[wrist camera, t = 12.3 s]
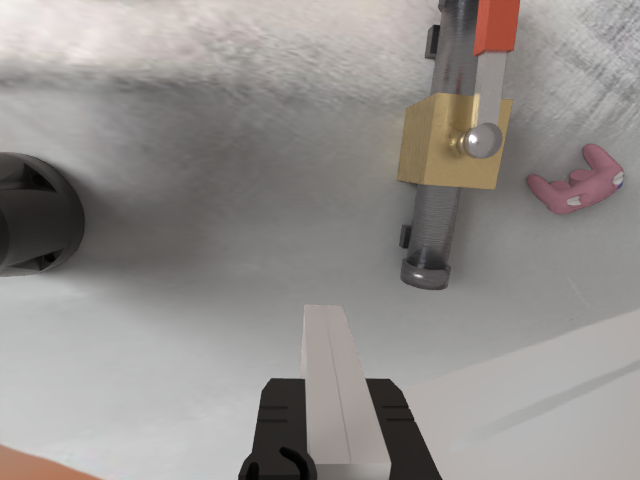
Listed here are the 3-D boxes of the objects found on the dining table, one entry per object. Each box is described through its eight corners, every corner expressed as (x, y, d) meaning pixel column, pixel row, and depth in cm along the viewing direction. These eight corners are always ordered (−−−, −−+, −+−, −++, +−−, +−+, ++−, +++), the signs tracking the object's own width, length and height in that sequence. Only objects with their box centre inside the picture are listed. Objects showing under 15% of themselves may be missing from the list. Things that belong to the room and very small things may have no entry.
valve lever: (490, 158, 31) (502, 158, 29) (459, 158, 30) (469, 158, 29) (514, -33, 27) (529, -47, 25) (479, -34, 27) (492, -48, 25)
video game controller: (522, 199, 45) (564, 226, 40) (523, 174, 42) (568, 200, 37) (585, 166, 44) (636, 188, 39) (590, 138, 41) (646, 159, 36)
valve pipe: (385, 269, 44) (412, 302, 34) (421, -7, 36) (470, -76, 26) (439, 272, 45) (481, 305, 34) (485, 1, 37) (559, -64, 26)
